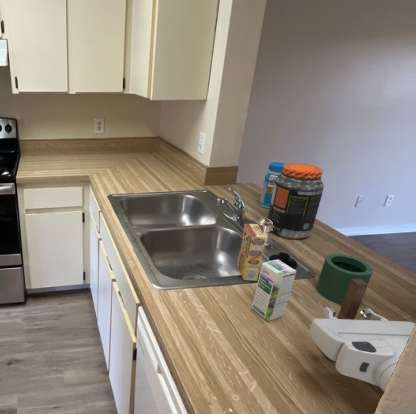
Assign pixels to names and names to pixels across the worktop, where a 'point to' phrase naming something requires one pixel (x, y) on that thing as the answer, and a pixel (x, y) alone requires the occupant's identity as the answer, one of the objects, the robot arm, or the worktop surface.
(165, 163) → the worktop surface
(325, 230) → the worktop surface
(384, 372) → the robot arm
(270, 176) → the beverage bottle
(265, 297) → the syrup box
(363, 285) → the brush
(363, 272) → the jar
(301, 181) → the supplement tub
